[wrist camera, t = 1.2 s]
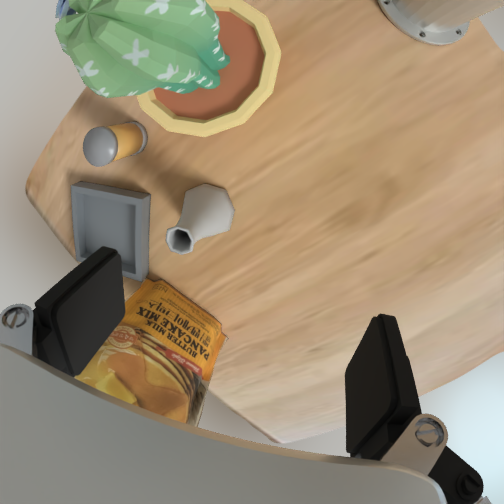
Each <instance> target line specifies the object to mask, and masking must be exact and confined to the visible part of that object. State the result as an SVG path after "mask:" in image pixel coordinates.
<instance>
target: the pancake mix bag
mask: <svg viewBox="0 0 504 504" xmlns="http://www.w3.org/2000/svg"><path fill="white" fill-rule="evenodd" d="M227 339H228V338H227V337H226V336H225V335H224V334H223V333H222V332H221V324H220V323H219V322H218V321H217V320H216V319H215V318H214V317H213V316H211V315H210V314H209V313H207V312H206V311H205V310H203V309H202V308H201V307H199V306H198V305H196V304H195V303H194V302H192V301H191V300H189V299H188V298H187V297H185V296H184V295H183V294H181V293H180V292H179V291H178V290H176V289H175V288H174V287H172V286H171V285H170V284H168V283H167V282H165V281H163V280H162V279H160V280H157V281H151V280H149V279H147V278H145V279H144V281H143V282H142V285H141V287H140V288H139V289H138V290H137V291H135V292H134V293H133V294H132V295H131V296H130V297H129V298H127V299H126V300H125V316H124V318H123V319H122V321H121V322H120V323H119V324H118V326H117V327H116V328H115V329H114V331H113V332H112V333H111V335H110V336H109V337H108V338H107V340H106V341H105V342H104V344H103V345H102V346H101V347H100V349H99V350H98V351H97V353H96V354H95V355H94V357H93V358H92V359H91V361H90V362H89V363H88V365H87V366H86V367H85V369H84V370H83V371H82V373H81V374H80V375H78V376H75V377H74V378H75V379H77V380H79V381H81V382H83V383H85V384H87V385H90V386H92V387H94V388H96V389H98V390H100V391H102V392H105V393H107V394H109V395H111V396H114V397H116V398H118V399H121V400H123V401H125V402H128V403H130V404H133V405H135V406H138V407H140V408H143V409H146V410H148V411H151V412H153V413H156V414H159V415H162V416H165V417H167V418H170V419H173V420H176V421H179V422H182V423H185V424H189V425H192V426H195V427H198V424H199V420H200V417H201V414H202V410H203V406H204V400H205V395H206V393H207V390H208V386H209V383H210V380H211V377H212V374H213V369H214V365H215V361H216V358H217V356H218V354H219V352H220V350H221V348H222V346H223V345H224V343H225V342H226V341H227Z"/></svg>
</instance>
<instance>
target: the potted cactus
mask: <svg viewBox="0 0 504 504" xmlns="http://www.w3.org/2000/svg"><path fill="white" fill-rule="evenodd" d="M76 12H78V13H79V14H76ZM56 18H59V20H60V21H59V22H58V23H57V24H56V29H55V31H56V34H57V36H58V39H59V42H60V44H61V47H62V50H63V51H64V52H65V53H66V54H68V55H69V56H70V57H71V58H72V61H73V63H74V65H75V66H76V68H77V70H78V72H79V74H80V76H81V78H82V80H83V82H84V84H86V85H87V86H88V87H89V88H90V89H91V90H92V91H94V92H95V93H96V94H97V95H100V96H103V97H106V98H111V97H121V96H131V95H137V98H138V101H139V104H140V107H141V109H142V110H143V111H144V112H146V113H147V114H148V115H149V116H150V117H152V118H153V119H154V120H155V121H156V122H158V123H159V124H160V125H161V126H162V127H164V128H165V129H166V130H167V131H170V132H176V133H183V134H189V135H195V136H201V137H207V136H210V135H213V134H215V133H218V132H221V131H224V130H227V129H229V128H232V127H235V126H238V125H241V124H244V123H245V122H246V121H247V120H248V118H249V117H250V116H251V115H252V114H253V113H254V112H255V111H256V110H257V109H258V108H259V106H260V105H261V104H262V103H263V102H264V101H265V100H266V99H267V98H268V97H269V96H270V95H271V94H272V93H273V89H274V84H275V80H276V75H277V71H278V66H279V62H280V57H281V50H280V47H279V45H278V42H277V40H276V37H275V35H274V32H273V30H272V27H271V25H270V22H269V20H268V18H267V16H265V15H264V14H262V13H261V12H259V11H258V10H256V9H255V8H253V7H252V6H250V5H249V4H247V3H246V2H244V1H242V0H59V2H58V4H57V9H56Z"/></svg>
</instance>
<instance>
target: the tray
mask: <svg viewBox="0 0 504 504" xmlns="http://www.w3.org/2000/svg"><path fill="white" fill-rule="evenodd" d="M71 200H72V218H73V231H74V242H75V251H76V260H77V261H79V262H83V261H84V260H85V259H87V258H88V257H89V256H90V255H92V254H93V253H94V252H95V251H97V250H98V249H99V248H100V247H102V246H106V247H109V248H113V249H116V250H117V251H118V254H120V255H121V261H122V276H125V277H128V278H131V279H134V280H137V281H140V282H142V281H143V280H144V279H145V278H146V276H147V275H148V274H149V222H150V200H151V194H146V193H141V192H136V191H131V190H126V189H121V188H116V187H110V186H105V185H99V184H94V183H88V182H83V181H80V182H77V183H75V184H73V185H71Z"/></svg>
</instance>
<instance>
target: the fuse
mask: <svg viewBox="0 0 504 504" xmlns="http://www.w3.org/2000/svg"><path fill="white" fill-rule="evenodd" d="M147 138H148V137H147V132H146V129H145V128H144V126H143V125H142V124H140V123H138V122H127V123H124V124H119V125H113V126H107V127H97V128H93V129H91V130H90V131H89V132H88V133H87V134H86V136H85V138H84V142H83V151H84V155H85V157H86V159H87V161H88V162H89V163H90V164H92V165H93V166H97V167H100V166H104V165H107V164H109V163H111V162H112V161H115V160H118V159H121V158H124V157H127V156H132V155H135V154H138V153H140V152H141V151H143V149H144V148H145V146H146V144H147Z"/></svg>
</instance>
